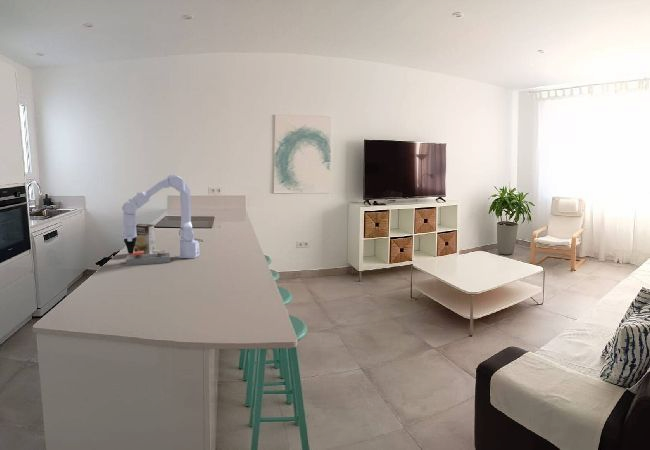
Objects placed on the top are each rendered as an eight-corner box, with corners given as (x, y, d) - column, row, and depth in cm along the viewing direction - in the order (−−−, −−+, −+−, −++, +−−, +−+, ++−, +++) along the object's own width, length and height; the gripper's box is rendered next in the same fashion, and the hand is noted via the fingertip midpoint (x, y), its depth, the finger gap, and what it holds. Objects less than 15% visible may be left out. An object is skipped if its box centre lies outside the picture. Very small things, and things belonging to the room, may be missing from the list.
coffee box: (133, 254, 217) (132, 225, 215) (140, 252, 224) (138, 223, 221) (149, 255, 216) (148, 226, 214) (155, 252, 223) (154, 224, 220)
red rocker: (144, 252, 205) (143, 250, 205) (144, 254, 202) (143, 252, 202) (131, 254, 203) (130, 252, 202) (130, 255, 200) (130, 253, 199)
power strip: (169, 258, 211) (169, 251, 210) (170, 262, 203) (170, 255, 202) (127, 261, 203) (126, 254, 203) (126, 265, 195) (125, 258, 194)
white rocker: (164, 252, 209) (165, 250, 209) (165, 253, 206) (165, 251, 206) (152, 251, 206) (152, 249, 206) (152, 252, 203) (152, 250, 203)
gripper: (121, 224, 204) (122, 250, 206) (119, 228, 191) (121, 256, 193) (137, 223, 207) (137, 249, 209) (136, 228, 194) (137, 255, 196)
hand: (130, 252), depth 201 cm, fingers closed, pressing on red rocker
